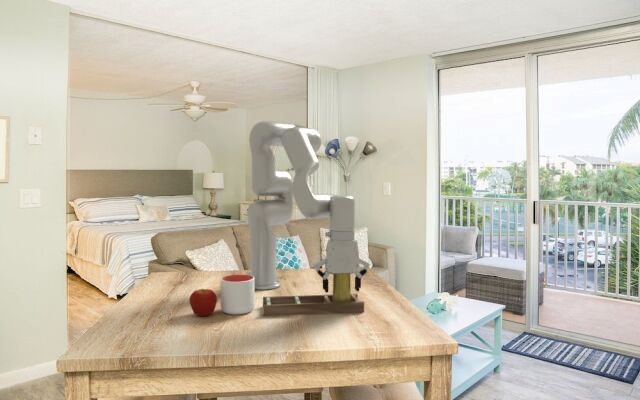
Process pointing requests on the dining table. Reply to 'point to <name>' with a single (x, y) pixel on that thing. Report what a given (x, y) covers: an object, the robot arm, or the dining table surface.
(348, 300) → the vase
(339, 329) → the dining table surface
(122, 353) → the dining table surface
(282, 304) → the wooden compartment tray
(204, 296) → the apple
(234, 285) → the cup
